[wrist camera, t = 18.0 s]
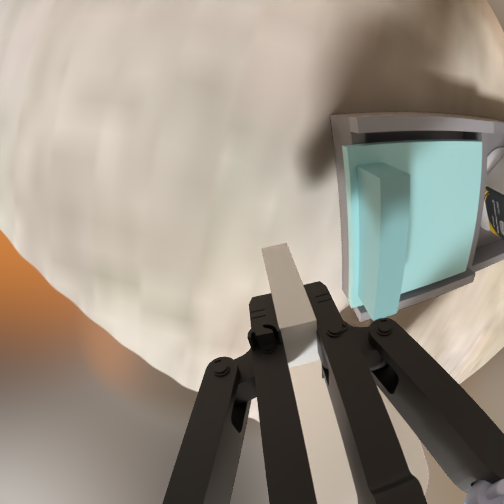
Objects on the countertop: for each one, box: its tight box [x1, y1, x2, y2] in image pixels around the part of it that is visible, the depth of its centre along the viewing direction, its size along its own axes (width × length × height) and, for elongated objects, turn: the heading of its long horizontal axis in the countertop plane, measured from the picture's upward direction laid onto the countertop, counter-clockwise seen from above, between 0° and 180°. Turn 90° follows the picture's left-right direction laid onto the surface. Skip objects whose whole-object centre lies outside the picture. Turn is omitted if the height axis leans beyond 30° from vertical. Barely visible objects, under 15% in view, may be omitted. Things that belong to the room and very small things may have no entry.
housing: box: [330, 112, 504, 322], centre depth 19 cm, size 16×28×5 cm, turn 101°
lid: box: [342, 139, 482, 321], centre depth 16 cm, size 12×13×4 cm
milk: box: [289, 357, 429, 504], centre depth 20 cm, size 12×12×26 cm
